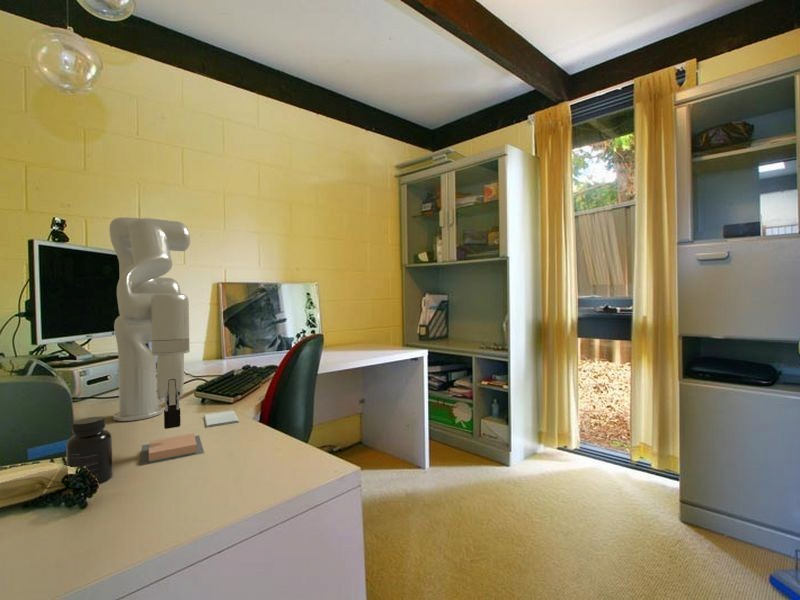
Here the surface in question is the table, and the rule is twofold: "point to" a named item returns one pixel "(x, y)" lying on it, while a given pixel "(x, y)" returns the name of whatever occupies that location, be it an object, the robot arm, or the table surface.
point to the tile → (172, 447)
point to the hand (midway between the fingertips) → (172, 426)
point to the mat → (146, 461)
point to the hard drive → (220, 418)
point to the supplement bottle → (91, 448)
